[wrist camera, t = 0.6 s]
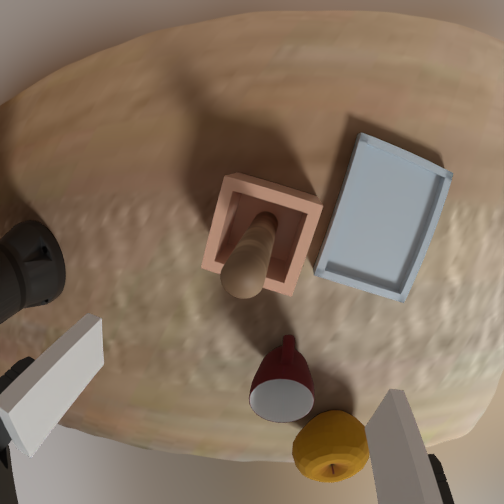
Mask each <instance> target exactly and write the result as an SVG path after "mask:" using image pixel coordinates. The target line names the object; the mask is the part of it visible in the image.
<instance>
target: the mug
mask: <svg viewBox="0 0 504 504" xmlns="http://www.w3.org/2000/svg"><path fill="white" fill-rule="evenodd" d="M249 403H250V406H251V408H252V410H253V411H254V412H255V413H256V414H257V415H258V416H260V417H261V418H263V419H266V420H268V421H272V422H278V423H287V422H293V421H296V420H299V419H301V418H303V417H305V416H306V415H307V414H308V413H309V412H310V411H311V410H312V408H313V405H314V384H313V380H312V377H311V374H310V371H309V368H308V365H307V362H306V360H305V358H304V357H303V356H302V354H301V353H299V352H298V351H297V350H296V349H295V337H294V336H293V335H284V337H283V346H280V347H277V348H276V349H274V350H272V351H271V352H269V353H268V354H267V355H266V356H265V357H264V359H263V361H262V362H261V364H260V366H259V369H258V371H257V373H256V375H255V377H254V379H253V381H252V385H251V389H250V395H249Z"/></svg>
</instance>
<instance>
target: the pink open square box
mask: <svg viewBox="0 0 504 504" xmlns="http://www.w3.org/2000/svg"><path fill="white" fill-rule="evenodd" d="M322 209H323V204H322V203H321V201H320V200H319V198H318V197H317V196H315V195H312V194H309V193H306V192H302V191H299V190H296V189H293V188H290V187H287V186H283V185H280V184H277V183H274V182H270V181H267V180H264V179H260V178H257V177H253V176H250V175H246V174H243V173H239V172H237V173H233V174H229V175H225V176H224V179H223V183H222V186H221V190H220V194H219V198H218V202H217V205H216V209H215V213H214V217H213V221H212V225H211V229H210V233H209V237H208V241H207V245H206V249H205V253H204V257H203V262H202V266H201V268H202V269H206V270H209V271H212V272H215V273H218V274H221V270H222V268H223V266H224V264H225V263H226V261H227V260H228V258H229V256H230V255H231V253H232V252H233V250H234V249H235V247H236V246H237V244H238V243H239V241H240V239H241V238H242V236H243V235H244V233H245V232H246V230H247V229H248V227H249V226H250V224H251V223H252V221H253V219H254V218H255V216H256V215H257V214H259V213H260V212H264V211H267V212H271V213H272V214H274V215H275V216H276V218H277V220H278V227H277V231H276V236H275V240H274V244H273V249H272V253H271V257H270V261H269V266H268V270H267V274H266V278H265V282H264V286H263V288H265V289H269V290H272V291H275V292H278V293H282V294H285V295H288V296H291V297H292V294H293V291H294V289H295V286H296V283H297V280H298V278H299V275H300V272H301V269H302V267H303V264H304V261H305V258H306V255H307V253H308V250H309V247H310V244H311V241H312V238H313V235H314V232H315V230H316V227H317V224H318V221H319V218H320V215H321V212H322Z"/></svg>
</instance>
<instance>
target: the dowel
mask: <svg viewBox="0 0 504 504" xmlns="http://www.w3.org/2000/svg"><path fill="white" fill-rule="evenodd" d="M277 227H278V220H277V218H276V216H275V215H274V214H272V213H271V212H267V211H264V212H260V213H259V214H257V215H256V216H255V218H254V219H253V221H252V223H251V224H250V226H249V227H248V229H247V230H246V232H245V233H244V235H243V236H242V238H241V239H240V241H239V243H238V244H237V246H236V247H235V249H234V250H233V252H232V253H231V255H230V256H229V258H228V260H227V261H226V263H225V264H224V266H223V268H222V270H221V274H220V279H221V283H222V285H223V287H224V289H225V290H226V291H227V292H228V293H229V294H231V295H232V296H234V297H237V298H242V299H246V298H251V297H253V296H255V295H257V294H258V293H259V292H260V291H261V290H262V288H263V286H264V282H265V278H266V274H267V270H268V266H269V261H270V257H271V253H272V249H273V244H274V240H275V236H276V231H277Z"/></svg>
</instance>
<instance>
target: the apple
mask: <svg viewBox="0 0 504 504" xmlns="http://www.w3.org/2000/svg"><path fill="white" fill-rule="evenodd" d="M292 455H293V458H294V461H295V465H296V467H297V468H298V469H299V471H300V472H301V473H302V475H304V476H305V477H307V478H310V479H312V480H316V481H319V482H331V483H332V482H338V481H342V480H344V479H347V478H350V477H351V476H353V475H355V474H356V473H357V472H359V471H360V470H361V469H363V467H364V465H365V464H366V462H367V460H368V459H369V448H368V443H367V438H366V433H365V426H364V425H363V424H362V423H361V422H360V421H359V420H358V419H357V418H356V417H354V416H352V415H350V414H348V413H346V412H344V411H341V410H330V411H327V412H324V413H320V414H319V415H317V416H316V417H315V418H313V419H312V420H310V421H309V422H308V424H307V425H306V426H305V427H304V428H303V429H302V430H301V431H300V432H299V433H298V435H297V436H296V438H295V440H294V442H293V449H292Z"/></svg>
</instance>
